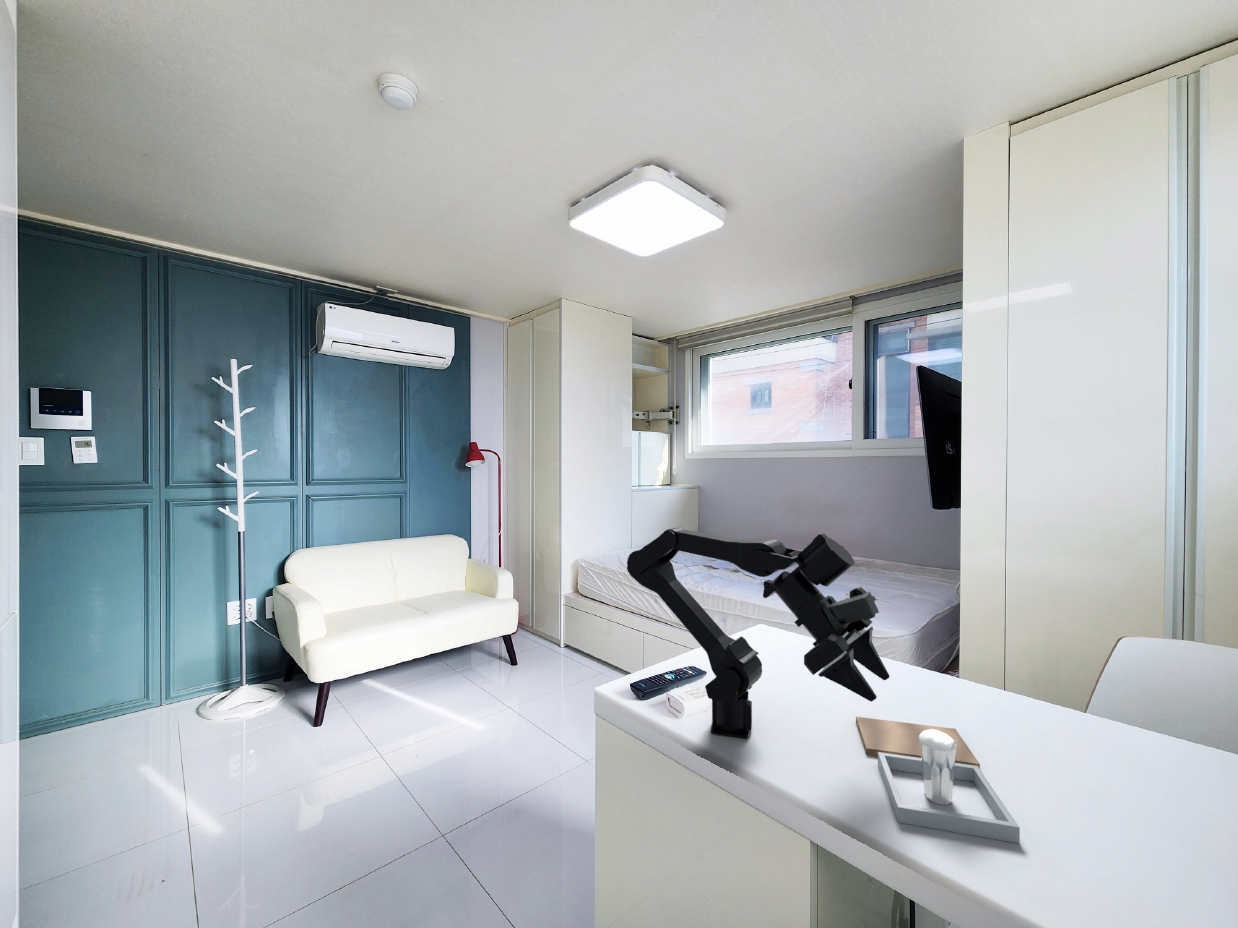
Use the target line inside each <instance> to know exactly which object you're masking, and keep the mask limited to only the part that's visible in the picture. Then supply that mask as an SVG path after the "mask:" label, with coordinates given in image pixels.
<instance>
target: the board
mask: <svg viewBox="0 0 1238 928" xmlns="http://www.w3.org/2000/svg"><path fill="white" fill-rule="evenodd" d="M855 723H856V727H857V729H858V733H859V735H860V738H861V742H862V744H863V748H864V751H865V754H866V755H868V756H870V755H871V756H875V757H876V756H877V757H878V752H881V753H889V754H896V755H903V756H910V757H917V758H921V751H920V743H919V735H920V734H921V733H922V732H923V731H924V730H929V729H934V730H938V731H941V732H943V733H946V734H947V735H949V736H950V737H951V738H952V739H953V740H954V741H955V739H956V738H958V740H957V742H956V745H957V747H956V756H955V763H960V764H967V765H974V766H978V767H979V769H980V770H981V764H980V762H979V761H978V759H977V758H976V757H975V754H974V753H973V752H972V750H971V749H970V748H969V746H968V745H967V743H966V742H965V740H964V739H963V737H962V736H961V735H960V733H959V732H958V730H957V729H956V728H953V727H943V726H934V725H928V724H927V725H926V724H918V723H910V722H904V721H893V720H888V719H878V718H872V717H871V718H870V717H865V716H864V717H862V716H855Z"/></svg>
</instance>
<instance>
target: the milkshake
mask: <svg viewBox="0 0 1238 928" xmlns="http://www.w3.org/2000/svg"><path fill="white" fill-rule="evenodd" d="M957 740H958V738H956V739H955V741H954V740H953V739H952V738H951V737H950V736H949V735H947V734H946V733H943V732H941V731H938V730H934V729H929V730H924V731H923V732H922V733H921V734H920V735H919V743H920V751H921V759H922V770H923V774H922V779H923V791H924V796H925V798H927V799H928V800H929V801H931V802H932V803H935V804H937V805H943V806H944V805H950V804H951V803H952V801H953V793H954V791H953V789H954V780H955V779H954V765H955V756H956V747H957V745H956V742H957Z"/></svg>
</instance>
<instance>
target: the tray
mask: <svg viewBox="0 0 1238 928" xmlns="http://www.w3.org/2000/svg"><path fill="white" fill-rule="evenodd" d="M877 766H878V769H879V771H880V775H881V777H882V781H883V783H884V786H885V789H886V792H887V795H888V797H889V801H890V803H891V806H892V808H893V812H894V814H895V815H894V816H895V818H896V821H897V822H898V823H900V824H906V825H912V826H919V827H922V828H923V827H924V828H930V829H935V830H939V831H940V830H941V831H946V832H947V831H948V832H953V833H957V834H958V833H959V834H962V835H963V834H964V835H969V836H975V837H980V838H981V837H982V838H986V839H993V840H998V841H1003V842H1004V841H1005V842H1010V843H1016V844H1020V826H1019V824H1018V823H1017V821H1016V820H1015V818H1014V817H1013V816H1012V814H1011V813H1010V811H1009V810H1008V809H1007V807H1006V805H1005V804H1004V803H1003V801H1002V800H1001V798H1000V797H999V795H998V794H997V792H996V791H995V789H994V788H993V786H992V785H991V784H990V782H989V781H988V779H987V778H986V777H985V775H984V773H983V771H982V769H981V768H980V769H979V767H978V766H974V765H967V764H960V763H955V765H954V779H953V780H960V781H966V782H973V783H974V785H975V787H976V788H977V789H978V791H979V792H980V794H981V796H982V797H983V798H984V801H985V802H986V803H987V805H988V807H989V808H990V810H991V811H992V813H993V814H994V816H995V818H996V819H995V818H988V817H984V816H983V817H980V816H975V815H970V814H965V813H958V812H953V811H947V810H940V809H934V808H933V809H932V808H926V807H920V806H917V805H916V806H915V805H909V804H905V803H903V800H902V797H901V795H900V792H899V790H898V787H897V784H896V782H895V780H894V777H893V774H892V771H891V770H893V771H900V772H906V773H907V772H908V773H914V774H921V775H923V770H922V759H921V758H917V757H910V756H903V755H896V754H889V753H881V752H878V756H877Z"/></svg>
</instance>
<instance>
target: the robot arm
mask: <svg viewBox="0 0 1238 928" xmlns="http://www.w3.org/2000/svg"><path fill="white" fill-rule="evenodd" d="M679 552H683V553H688V554H692V555H697V556H701V557H705V558H706V557H707V558H710V559H713V560H714V559H715V560H721V561H725V562H728V563H731V564H733V566H736V567H737V568H739V569H740V570H742V571H744V572H748V573H749V574H751V575H755V577H756V576H757V577H763V578H765V577H769V576H771V575H773V574H776V573H778V572H780V571H781V570H782V572H780V573H779V574H778V575H777V576H776V577H775V578H774V579H773V580H772V579H767V580H765V581H763V582H762V585H763V592H762V597H763V598H764V599H768V598H769V597H771V596H773V595H774V594H776V596H778V598H779V599H780V600H781V601H782V602H783V604H785V606H786V608H788V609H789V611H790V612H791V613H792V614H793V615H794V616H795V618H796V620H795V621H794V624H795V625H796V626H797V627H798V628H800V627H801V626H803V627H804V628H805V630H806V631H807V632H808V633H809V634H810V636H811V637H812V638H813V639H814V640H815V641H814V642H812V645H813V647H812V648H811V649H810V650H808V652H806V653H805V654H804V655H803V664H804V666H805V667H806V669H807V670H808V671H809V672H810V674H812V676H814V675H816V674H817V673H818V674H817V675H818V677H820V678H822V677H823V678H826V679H828V680H830V681H832V682H834V683H836V684H838V685H840V686H841V687H843V688H845V689H847V690H849V691H850V692H853V693H854V694H856V695H858V696H860V697H862V698H863V699H865V700H866V701H869V702H874V701H875V700H876V699H877V695H876V693H875V692H874V690H873V688H872V687H871V685H870V684H869V683H868V681H867V680H866V678H865V676H864V675H863V674H862V673H861V671H860V669H859V668H858V667H857V665H856V664H855V661H856V662H857V663H859V665H861V666H862V667H864V668H865V669H867V670H868V671H869V672H871V673H872V674H873V675H874V676H877V677H878V678H880V679H881V680H883V681H886V680H888V679H890V677H891V676H890V673H889V672H888V670H887V668H886V666H885V665H884V662H883V661H882V659H881V656H880V655H879V654H878V651H877V650H876V648H875V645H874V643H873V630H874V627H873V626H871V624H872V623H873V621H872V620H871V619H874V618H876V615H877V614H878V613H880V611H879V608H878V607H877V604H876V600H877V598H876V597H875V596H874V595H872V594H871V592H870V591H866V590H865V589H864V588H863V587H862V586H860V587H859V586H858V587H855V588H853V589H851V590H849V597H846V598H844V599H841V600H838V601H837V600H836V599H835V598H834V597H833V596H832V595H831V596H830V594H828V595H827V596H825V595H823V593H822V592H821V591H820V590H819V589H818V587H817V586H820V585H821V586H823V587H829V586H830V585H832V584H833V583H834V582H835V581H837V579H839V578H840V577H842V575H843V574H845V573H846V572H847V571H849V569H851V568H853V566H854V565H855V560H854V558H853V557H852V555H851V554H850V553H849V551H848V550H847V549H846V548H845V547H844V546H843V545H842V544H841V545H840V544H839V543H838V542H837V541H836V540H833V539H832V538H830V537H829V536H827V534H825V533H824V532H822V533H819V534H818V535H816V536H815V537H814V538H813V539H812V541H811V542H810V543H809V544H808V545H807V546H806V547H805V548H804V549H803V550H799V549H795V548H791V547H788V546H785V545H784V543H783V542H781V541H780V540H779V539H775V538H751V539H750V538H747V539H738V538H737V539H736V538H731V537H727V536H720V535H714V534H709V533H704V532H698V531H694V530H693V531H692V530H689V529H685V528H683V527H673V528H668V529H665V530H664V531H663V532H662V533H661V534H660V535H659V536H658V537H657V538H655V539H653V540H652V541H650V542H649V543H648V544H646V545H645V546H643V547H642V548H641V549H637V550H634V551H632V552H630V554H629V555H628V557H627V562H626V564H627V565H626V569H627V570H626V571H627V573H628V574H629V575H630V577H631V578H633V580H635V581H636V582H637V583H638V584H640V585H641V586H642V587H644V588H646V589H648V590H650V591H652V592H653V593H655V594H657V595H658V596H659V598H660V599H661V600H662V602H664V603H665V605H666V606H667V607H668V609H670V611H671V612H672V613H673V614H674V616H675V617H676V618H677V619H678V620H679V621H680V623H681V624H682V625H683V626H684V628H685V629H686V630H687V631H688V632H689V633H690V635H691V636H692V637H693V638H694V639H695V640H696V641H697V643H698V644H699V646H700V647H701V648H702V649H703V650H704V651H705V652H706V655H707V658H708V662H709V664H710V668H711V671H712V673H713V675H714V676H715V677H713V679H712V680H710V682H709V683H707V684H706V685H705V687H704V688H705V689H704V690H705V691H706V695H707V698H708V699H709V700H710V699H711V718H712V719H711V726H710V734H716V735H723V736H727V737H736V738H744V739H747V738H749V737H750V736H749V734H750V731H751V730H752V728H753V702H752V701H751V700H749V690H751V689H752V687H753V685H755V683H757V682H758V681H759V680H760V678H761V677H762V674H763V664H762V661H761V659H760V658H759V657H758V655H759V652H758V651H757V650H755V649H754V648H752V647H751V646H750V644H749V643H748V641H747V640H746V638H744V637H743V635H741V636H739V637H738V638H736V639H734V638H732V637H730V636H729V635H727V634H726V632H724V631H723V629H721V627H719V625H718V624H717V622H715V620H714V619H712V617H711V616H710V615H709V613H707V611H706V610H705V609H704V608H703V607H702V606H701V605H700V603H699V602H698V601H697V600H696V599H695V597H693V595H692V594H691V593H690V592H689V591H688V590H687V589H686V587H684V585H683V584H682V583H681V582H680V580H678V578H677V577H676V573H675V569H674V566H673V563H672V562H671V560H672V559H674V558H675V557H676V555H678V553H679ZM795 565H798V566H797V567H796V568H795V569H794V570H792V571H791V572H790V571H786V570H787V569H789V568H791V567H793V566H795ZM867 628H868V629H867ZM865 629H866V630H865Z"/></svg>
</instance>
